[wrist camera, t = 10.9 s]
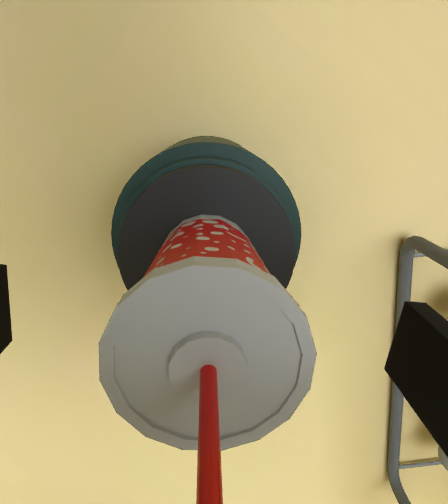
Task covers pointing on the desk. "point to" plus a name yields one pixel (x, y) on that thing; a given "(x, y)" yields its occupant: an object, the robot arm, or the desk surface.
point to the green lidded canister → (205, 204)
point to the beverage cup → (207, 348)
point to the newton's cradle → (403, 294)
